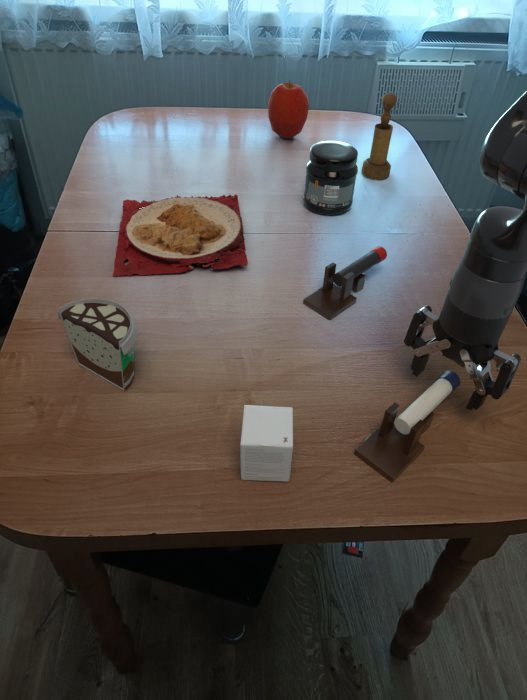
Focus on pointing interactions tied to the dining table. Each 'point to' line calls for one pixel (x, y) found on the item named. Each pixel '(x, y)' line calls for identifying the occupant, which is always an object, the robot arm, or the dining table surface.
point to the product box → (266, 443)
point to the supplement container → (330, 177)
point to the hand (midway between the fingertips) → (443, 389)
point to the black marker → (361, 264)
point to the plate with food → (180, 235)
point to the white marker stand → (393, 445)
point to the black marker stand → (334, 294)
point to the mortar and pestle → (380, 144)
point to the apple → (288, 110)
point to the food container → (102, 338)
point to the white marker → (427, 401)
